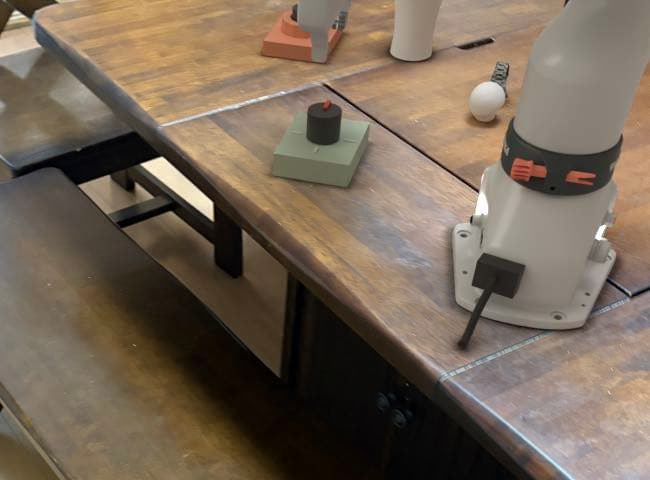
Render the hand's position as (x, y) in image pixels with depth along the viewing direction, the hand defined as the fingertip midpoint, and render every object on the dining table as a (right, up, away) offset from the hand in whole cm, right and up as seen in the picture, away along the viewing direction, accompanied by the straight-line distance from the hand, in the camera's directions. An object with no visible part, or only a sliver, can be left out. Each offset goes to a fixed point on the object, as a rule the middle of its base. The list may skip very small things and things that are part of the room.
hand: (329, 43), depth 105 cm
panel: (0, -9, +11) cm, 14 cm away
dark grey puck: (-1, +22, +31) cm, 38 cm away
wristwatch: (+27, +4, +22) cm, 35 cm away
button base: (-1, +19, +34) cm, 39 cm away
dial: (0, -7, +9) cm, 11 cm away
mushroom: (+24, -1, +18) cm, 30 cm away
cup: (+16, +17, +32) cm, 40 cm away
